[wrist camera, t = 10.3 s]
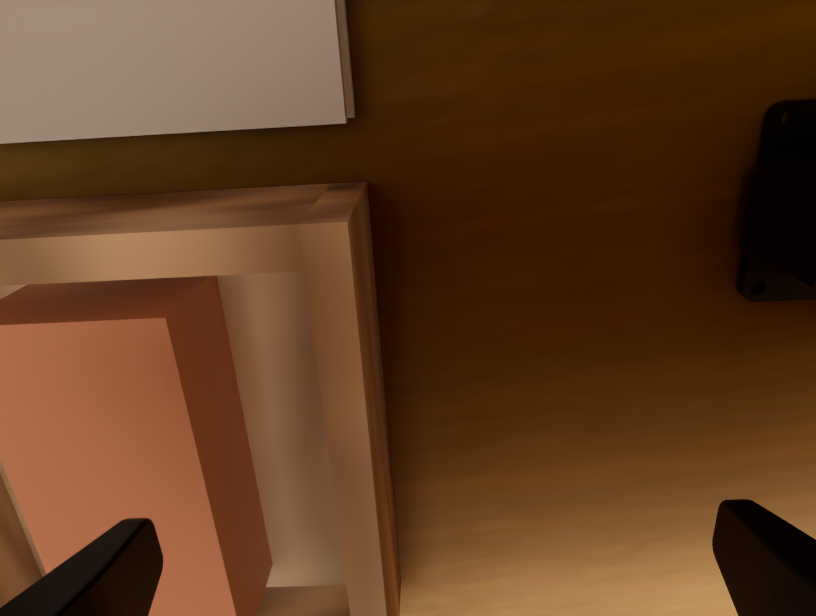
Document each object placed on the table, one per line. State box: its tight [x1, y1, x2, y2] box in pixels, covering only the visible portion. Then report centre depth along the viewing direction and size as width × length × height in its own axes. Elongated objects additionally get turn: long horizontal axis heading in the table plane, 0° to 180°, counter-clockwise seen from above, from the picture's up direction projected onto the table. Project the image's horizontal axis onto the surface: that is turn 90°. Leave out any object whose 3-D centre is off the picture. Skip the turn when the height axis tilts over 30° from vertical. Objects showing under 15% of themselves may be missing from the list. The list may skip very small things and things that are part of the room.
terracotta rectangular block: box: [0, 276, 273, 616], centre depth 20 cm, size 6×13×4 cm, turn 3°
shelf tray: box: [0, 181, 401, 616], centre depth 20 cm, size 16×18×6 cm
